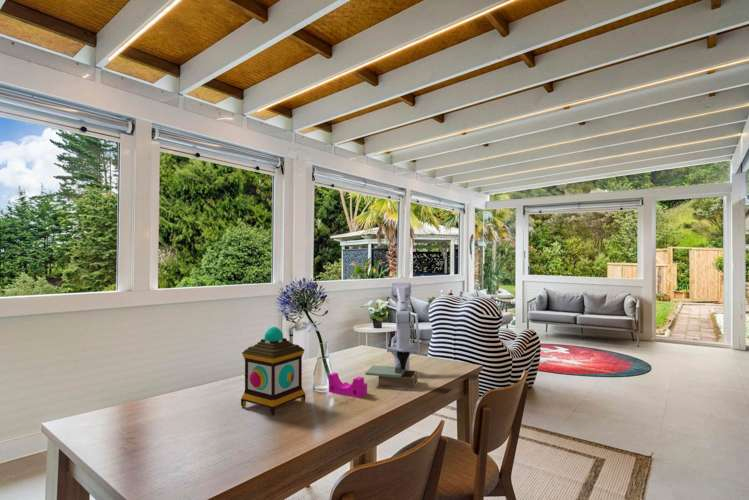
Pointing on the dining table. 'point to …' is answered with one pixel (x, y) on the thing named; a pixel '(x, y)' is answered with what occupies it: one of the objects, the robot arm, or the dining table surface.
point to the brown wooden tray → (399, 381)
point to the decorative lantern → (273, 371)
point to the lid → (386, 371)
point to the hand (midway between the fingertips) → (403, 369)
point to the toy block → (347, 386)
